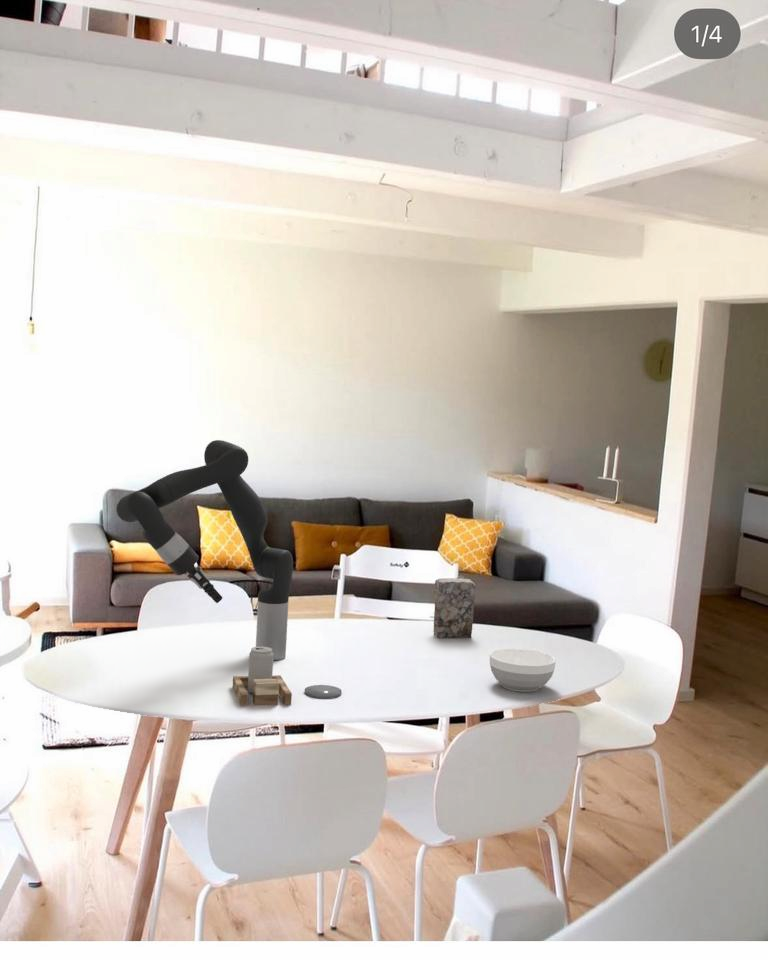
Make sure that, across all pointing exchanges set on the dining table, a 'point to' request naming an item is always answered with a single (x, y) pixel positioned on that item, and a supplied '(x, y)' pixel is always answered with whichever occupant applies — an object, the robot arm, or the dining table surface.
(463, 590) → the stone block
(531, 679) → the bowl
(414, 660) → the dining table surface
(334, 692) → the slate coaster
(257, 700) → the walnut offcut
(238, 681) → the frame
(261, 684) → the birch offcut
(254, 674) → the beverage can
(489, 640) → the dining table surface
